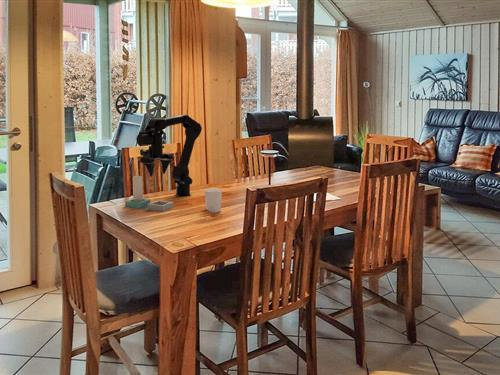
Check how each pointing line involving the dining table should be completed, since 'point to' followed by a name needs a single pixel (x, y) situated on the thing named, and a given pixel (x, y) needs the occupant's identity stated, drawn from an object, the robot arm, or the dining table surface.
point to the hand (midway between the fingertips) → (157, 175)
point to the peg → (137, 189)
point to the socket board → (149, 205)
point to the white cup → (213, 199)
